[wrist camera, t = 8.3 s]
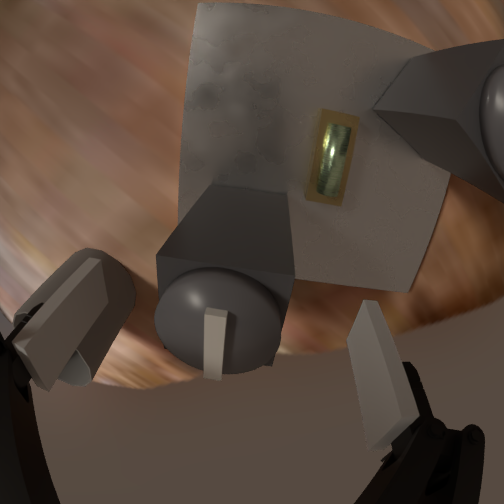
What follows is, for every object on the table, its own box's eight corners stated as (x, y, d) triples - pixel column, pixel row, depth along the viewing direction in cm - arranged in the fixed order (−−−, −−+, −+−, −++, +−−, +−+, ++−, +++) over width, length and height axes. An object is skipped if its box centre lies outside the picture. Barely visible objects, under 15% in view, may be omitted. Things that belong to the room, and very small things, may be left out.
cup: (87, 231, 24) (19, 293, 15) (150, 289, 26) (105, 368, 17) (60, 279, 27) (9, 338, 18) (114, 327, 29) (75, 394, 21)
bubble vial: (318, 108, 17) (324, 108, 14) (353, 115, 17) (364, 117, 14) (303, 193, 20) (307, 205, 17) (336, 199, 20) (344, 211, 17)
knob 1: (209, 184, 20) (142, 274, 10) (287, 195, 20) (297, 298, 10) (205, 252, 22) (156, 369, 12) (275, 262, 22) (270, 388, 12)
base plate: (201, 7, 14) (198, 2, 13) (461, 68, 14) (468, 68, 13) (181, 255, 24) (177, 261, 23) (404, 286, 24) (407, 292, 23)
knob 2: (372, 109, 16) (478, 124, 6) (412, 57, 14) (527, 37, 4) (425, 160, 17) (533, 224, 7) (461, 110, 15) (578, 139, 5)
